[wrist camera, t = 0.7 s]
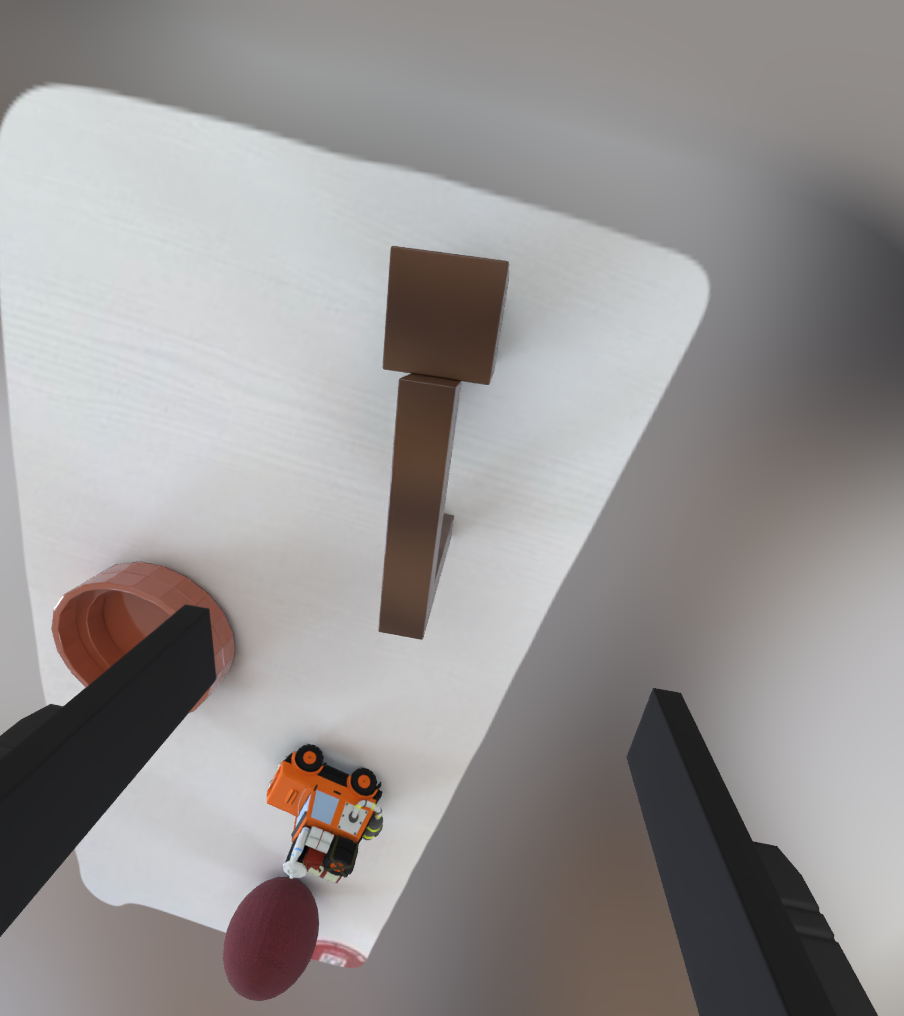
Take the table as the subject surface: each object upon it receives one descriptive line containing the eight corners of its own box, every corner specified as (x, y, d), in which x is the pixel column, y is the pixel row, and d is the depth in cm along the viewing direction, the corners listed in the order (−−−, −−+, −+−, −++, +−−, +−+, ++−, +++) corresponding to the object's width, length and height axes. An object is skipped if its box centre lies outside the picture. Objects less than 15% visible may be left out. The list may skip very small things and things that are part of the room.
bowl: (79, 546, 39) (34, 569, 35) (233, 574, 38) (204, 600, 34) (107, 670, 44) (70, 701, 41) (242, 697, 43) (217, 731, 40)
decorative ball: (283, 846, 52) (234, 958, 43) (347, 890, 54) (314, 1006, 44) (239, 876, 55) (185, 985, 46) (301, 916, 57) (261, 1029, 48)
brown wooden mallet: (467, 541, 34) (447, 645, 23) (404, 530, 35) (354, 627, 23) (509, 284, 27) (509, 252, 16) (429, 273, 28) (375, 234, 16)
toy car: (378, 816, 48) (351, 916, 40) (275, 773, 47) (226, 866, 39) (401, 778, 45) (377, 877, 37) (292, 732, 44) (244, 823, 36)
